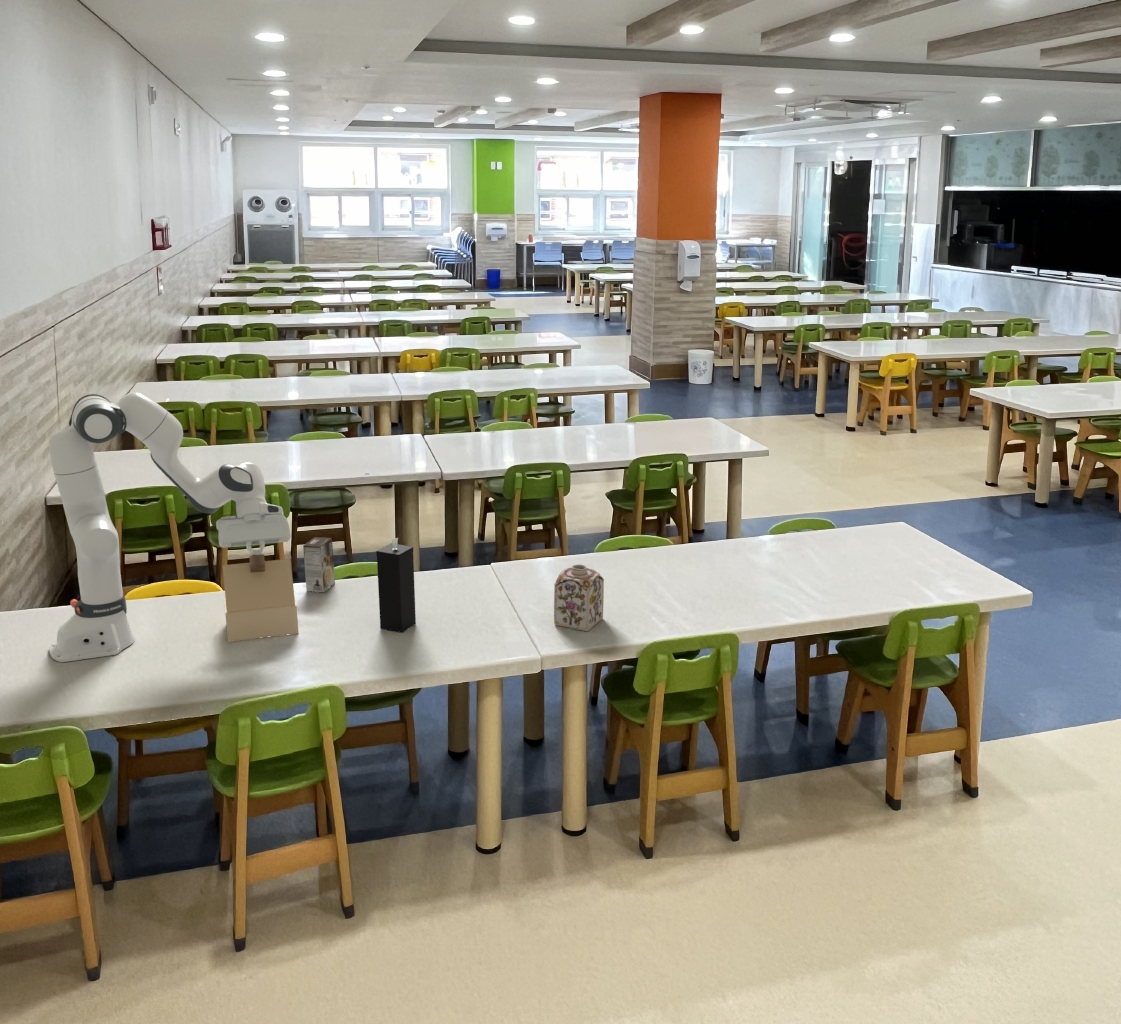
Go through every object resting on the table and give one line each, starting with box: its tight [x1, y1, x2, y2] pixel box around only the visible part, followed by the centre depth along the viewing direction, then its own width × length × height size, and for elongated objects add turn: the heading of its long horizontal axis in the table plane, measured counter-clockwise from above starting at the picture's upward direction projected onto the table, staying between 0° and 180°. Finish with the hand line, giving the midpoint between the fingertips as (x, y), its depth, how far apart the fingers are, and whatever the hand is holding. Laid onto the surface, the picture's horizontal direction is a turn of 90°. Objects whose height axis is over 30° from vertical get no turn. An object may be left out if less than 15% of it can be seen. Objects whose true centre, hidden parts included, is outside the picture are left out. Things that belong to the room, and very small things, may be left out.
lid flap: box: [222, 553, 296, 613], centre depth 311 cm, size 19×14×9 cm
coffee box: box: [302, 536, 336, 593], centre depth 352 cm, size 9×6×16 cm
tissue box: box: [375, 537, 417, 634], centre depth 320 cm, size 8×8×28 cm
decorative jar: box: [553, 563, 605, 632], centre depth 325 cm, size 12×12×18 cm
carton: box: [223, 595, 299, 643], centre depth 321 cm, size 20×14×9 cm
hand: (256, 556), depth 311 cm, fingers closed, pressing on lid flap
